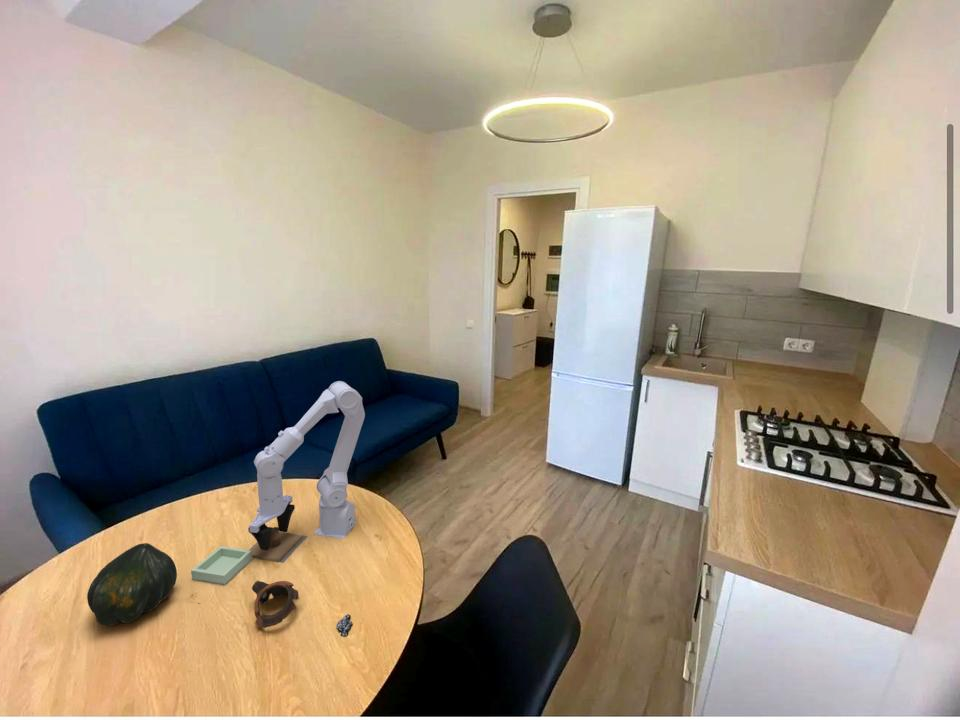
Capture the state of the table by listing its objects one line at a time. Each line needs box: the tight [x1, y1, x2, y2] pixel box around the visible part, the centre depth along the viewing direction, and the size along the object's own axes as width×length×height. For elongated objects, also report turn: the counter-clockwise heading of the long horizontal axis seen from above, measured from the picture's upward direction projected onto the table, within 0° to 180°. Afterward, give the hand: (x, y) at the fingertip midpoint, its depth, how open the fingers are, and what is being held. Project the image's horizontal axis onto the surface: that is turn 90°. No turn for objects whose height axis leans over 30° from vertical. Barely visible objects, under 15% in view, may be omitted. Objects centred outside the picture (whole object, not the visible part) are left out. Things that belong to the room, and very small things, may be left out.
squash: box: [86, 542, 178, 627], centre depth 86 cm, size 14×15×15 cm
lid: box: [249, 526, 304, 563], centre depth 106 cm, size 10×10×5 cm
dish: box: [190, 545, 253, 586], centre depth 98 cm, size 9×9×3 cm
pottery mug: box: [251, 580, 299, 630], centre depth 87 cm, size 12×10×8 cm
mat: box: [248, 534, 309, 564], centre depth 108 cm, size 12×11×1 cm
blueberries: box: [335, 613, 354, 638], centre depth 84 cm, size 7×8×2 cm
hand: (274, 539), depth 107 cm, fingers open, 7 cm apart
